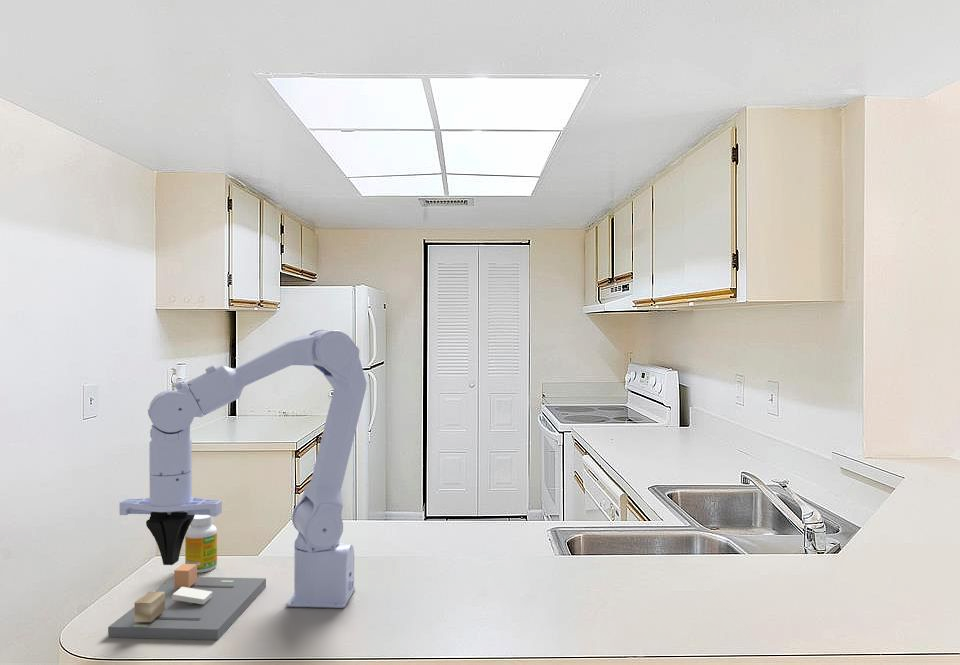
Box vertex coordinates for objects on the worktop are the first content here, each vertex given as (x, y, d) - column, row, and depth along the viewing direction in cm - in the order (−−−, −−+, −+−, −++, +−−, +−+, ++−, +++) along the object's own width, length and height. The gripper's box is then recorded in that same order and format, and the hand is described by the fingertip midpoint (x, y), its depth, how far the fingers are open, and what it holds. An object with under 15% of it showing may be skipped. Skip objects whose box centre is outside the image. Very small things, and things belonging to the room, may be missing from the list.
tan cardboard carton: (164, 610, 100) (164, 591, 100) (150, 622, 96) (150, 602, 96) (149, 609, 100) (149, 591, 100) (134, 621, 96) (134, 602, 96)
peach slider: (197, 580, 112) (197, 564, 112) (188, 587, 109) (188, 570, 109) (183, 580, 112) (183, 563, 112) (174, 587, 109) (174, 570, 109)
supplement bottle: (205, 574, 119) (205, 520, 119) (178, 572, 120) (178, 518, 120) (222, 564, 125) (223, 512, 124) (197, 562, 126) (197, 510, 125)
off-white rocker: (211, 596, 106) (212, 591, 106) (203, 604, 103) (204, 599, 103) (181, 591, 106) (182, 586, 106) (171, 599, 103) (172, 594, 103)
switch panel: (265, 587, 114) (265, 576, 114) (217, 639, 95) (217, 626, 95) (174, 585, 114) (174, 574, 114) (108, 637, 96) (108, 624, 95)
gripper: (229, 466, 103) (229, 554, 103) (137, 465, 103) (137, 552, 103) (210, 477, 96) (210, 571, 96) (111, 475, 96) (111, 569, 96)
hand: (171, 562), depth 99 cm, fingers closed
